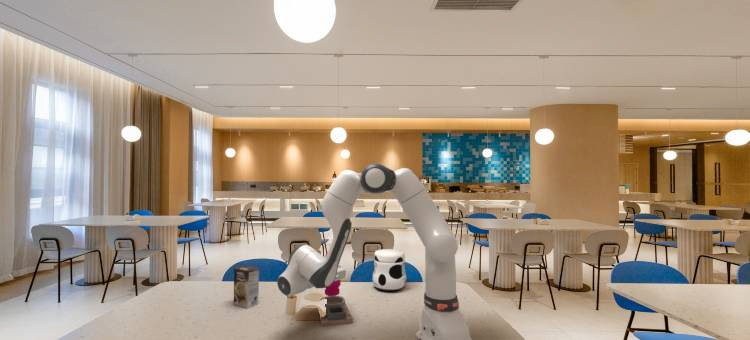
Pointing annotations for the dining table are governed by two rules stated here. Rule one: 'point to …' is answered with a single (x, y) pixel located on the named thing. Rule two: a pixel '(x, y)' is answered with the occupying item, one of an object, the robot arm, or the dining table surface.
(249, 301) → the coffee box
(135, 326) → the dining table surface
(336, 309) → the caddy board
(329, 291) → the pepper mill
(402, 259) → the milk container
